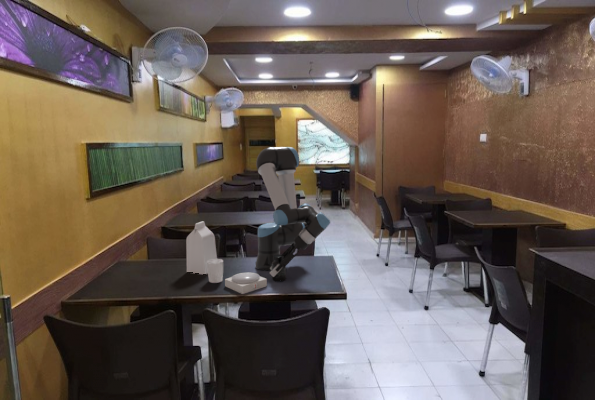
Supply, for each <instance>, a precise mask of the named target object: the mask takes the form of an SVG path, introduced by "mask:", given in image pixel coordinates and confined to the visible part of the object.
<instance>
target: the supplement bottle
mask: <svg viewBox="0 0 595 400" xmlns="http://www.w3.org/2000/svg"><path fill="white" fill-rule="evenodd" d="M283 259H284V258H283V255H282V254H281V255H274V259H273V260H274V261H273V262H272V270H273V269H274V268H275V267H276V266H277V265H278V263H281V261H282V260H283ZM286 268H287V266H286V267H285V268H282V269H281V270H280V271H279V272H278V273H277V274H276V275H275V276H274V277H273V276H272V275H271V280H272V281H274V282H277V283H278V282H284V281H286V279H287V272H286V271H287V269H286ZM272 270H271V271H272Z"/></svg>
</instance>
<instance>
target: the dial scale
mask: <svg viewBox="0 0 595 400" xmlns="http://www.w3.org/2000/svg"><path fill="white" fill-rule="evenodd" d="M267 280H268V279H267V278H265V277H263V276H260V275H259V273H256V272H248V271H247V272H240V273H236V274H234V275H232V276H230V277H228V278H225V279H224V285H225V287H226V288H228V289H230V290H233V291H234V292H236V293H239V294H242V295H244V294H247V293H250V292H254V291H256V290H259V289H262V288H266V287H267V286H268V282H267Z"/></svg>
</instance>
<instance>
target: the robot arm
mask: <svg viewBox="0 0 595 400" xmlns="http://www.w3.org/2000/svg"><path fill="white" fill-rule="evenodd" d="M255 161H256V163H255V164H256V169H257V173H258V174H259V175H260V176H261V178H262V179H263V183H264V185H265V188H266V190H267V193H268V196H269V197H270V200H271V203H272V205H273V208H274V211H273V215H272V219H273V222H268V223H267V222H266V223H264V224H263V223H262V224H261V225H259V226H258V228H257V257H256V261H255V268H256V269H257V270H261V271H269V275H271V277H272V276H273V277H274V276H275V275H276V274H277V273H278V272H279V271H280V270H281V269H282V268H285V267H286V268H287V266H288V264H289V263H290V262H291V261H292V260H293V259H294V258H295V257H296V256H297V255H298V254H299V252H300V251H299V250H300V249H301V250H303V251H305V250H306V249H308V247H309V246H310V245H311V244H312V243H313V242H315V241H316V239H317V237H319V236H320V235H321V233H323V232H324V231H325V230H326V229H327V228H328V227H329V225H330V224H331V220H330V219H329V218H328V217H327V215H325V214H324V213H323V212H321V211H320V212H317V211H316V209H315V208H314V207H313V206H311V205H310V204H309V203H303V204H300V205H299V206H297V195H296V184H295V175H294V174H295V173H296V171H297V168H298V167H299V165H300V164H299V163H300V157H299V154H298V151H297V149H295V148H294V147H291V146H276V147H271V146H269V147H265V148H264V149H262V150H261V151H260V152H259V153H258V155H257V158H256V160H255ZM304 223H305V224H306V226H305V224H304ZM285 246H289V247H288V248H287V249H286V250H285V251H283V252H282V254H281V249H280V248H281V247H285ZM274 255H283V258H284V259H283V260H282V261H281V263H278V265H277V266H276V267H275V268H274V269H273V270H272V262H273V261H274V260H273V259H274Z"/></svg>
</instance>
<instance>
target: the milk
mask: <svg viewBox="0 0 595 400" xmlns="http://www.w3.org/2000/svg"><path fill="white" fill-rule="evenodd" d="M205 222H206V221H203V220H202V221H199V222H196V223H195V224H194V229H193V230H192V231H191V232H190V233H189V234H188V235H187V236H186V244H185V245H186V249H185V250H186V273H187V272H193V273H192V274H195V273H199V274H198V275H203V274H206V275H208V269H207V261H208V260H211V259H218V256H217V255H218V254H217V248H216V247H217V246H216V237H215V234H214V233H213V231H211V230H210V229H209V228H208V226H206V223H205Z"/></svg>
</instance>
